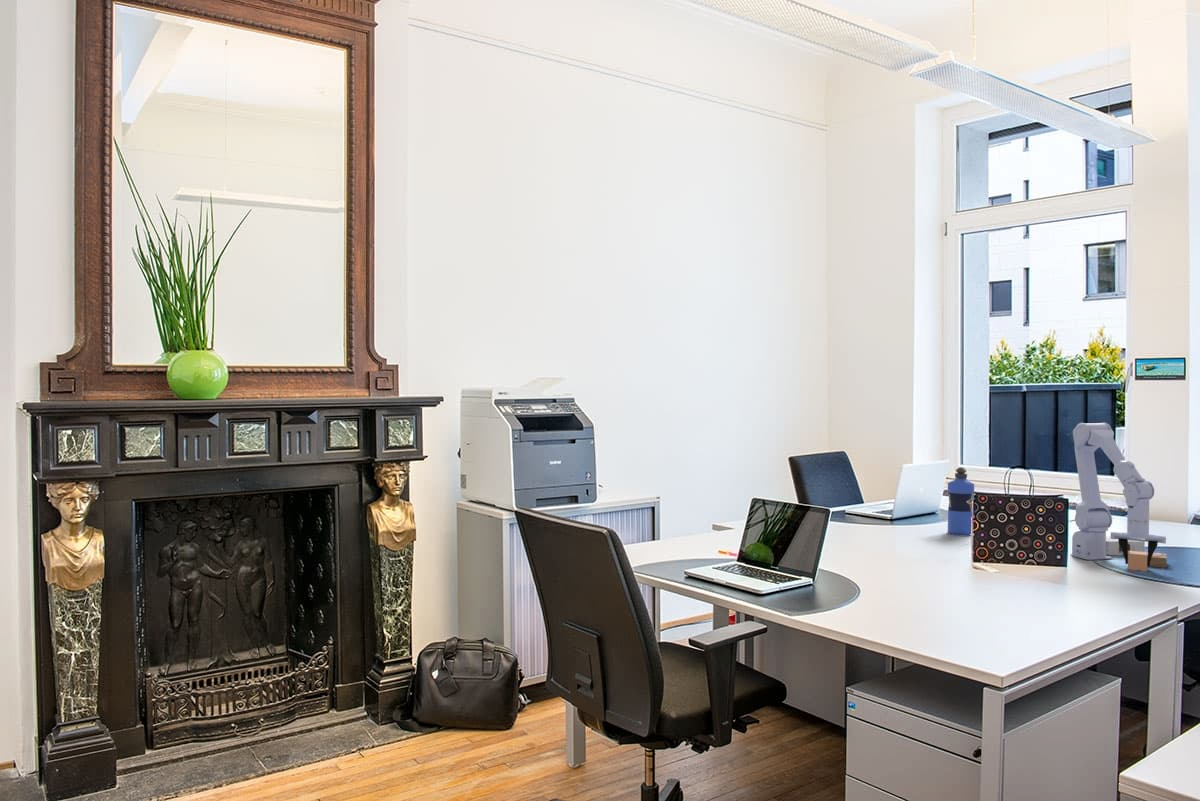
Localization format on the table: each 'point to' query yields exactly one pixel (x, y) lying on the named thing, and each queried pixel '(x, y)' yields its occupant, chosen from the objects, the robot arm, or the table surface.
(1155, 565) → the walnut slab
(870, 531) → the table surface
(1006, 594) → the table surface
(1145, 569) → the terracotta cube
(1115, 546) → the ink box
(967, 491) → the water bottle
